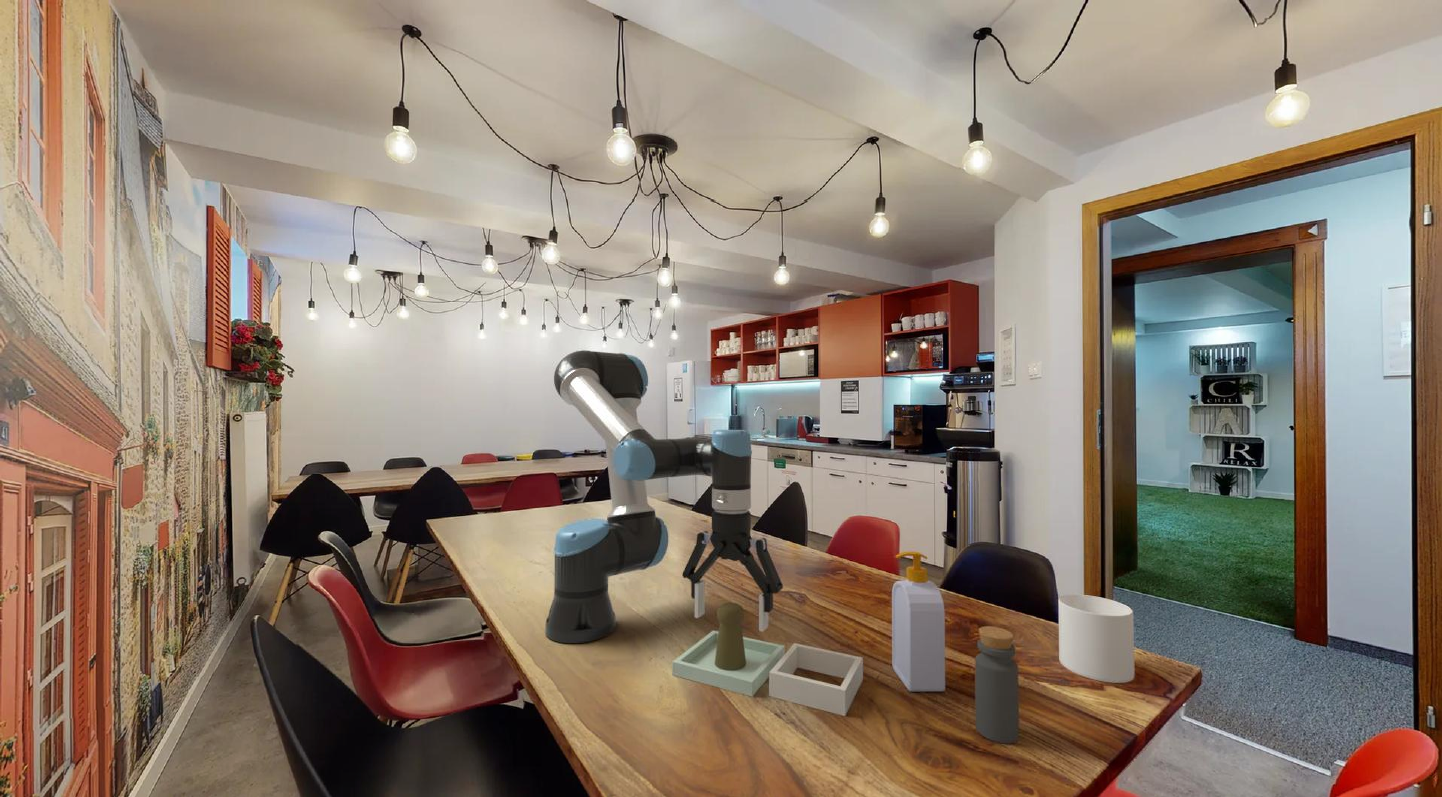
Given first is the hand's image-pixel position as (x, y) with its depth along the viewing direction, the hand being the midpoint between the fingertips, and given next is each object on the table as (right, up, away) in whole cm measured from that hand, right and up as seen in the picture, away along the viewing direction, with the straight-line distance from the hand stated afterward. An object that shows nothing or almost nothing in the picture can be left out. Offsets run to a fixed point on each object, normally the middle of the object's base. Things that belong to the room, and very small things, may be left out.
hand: (730, 622), depth 101 cm
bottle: (+40, -8, -21) cm, 46 cm away
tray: (0, -8, 0) cm, 8 cm away
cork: (0, -8, 0) cm, 8 cm away
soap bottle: (+33, -9, -5) cm, 35 cm away
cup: (+70, -9, 0) cm, 70 cm away
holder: (+15, -8, -8) cm, 19 cm away
